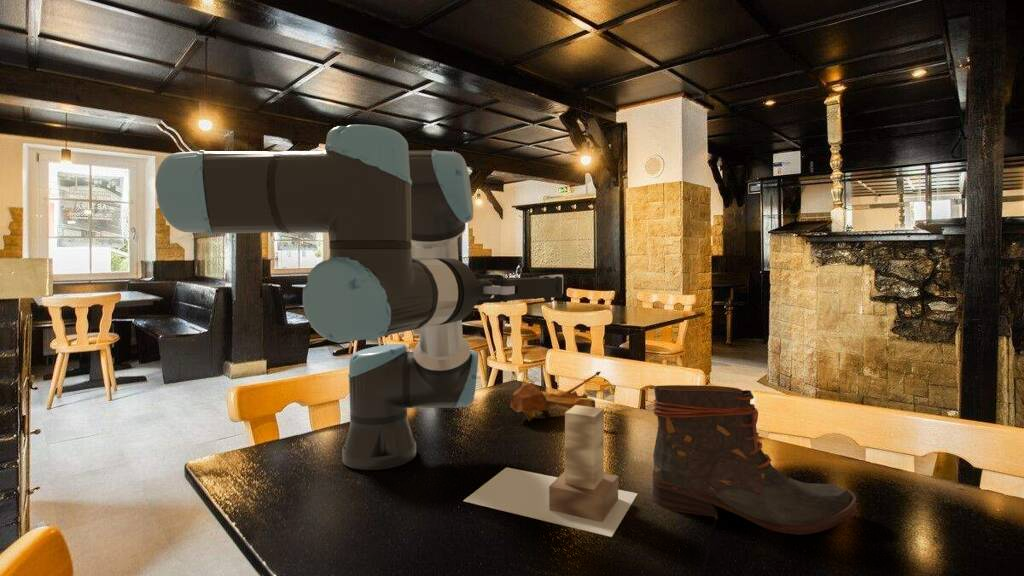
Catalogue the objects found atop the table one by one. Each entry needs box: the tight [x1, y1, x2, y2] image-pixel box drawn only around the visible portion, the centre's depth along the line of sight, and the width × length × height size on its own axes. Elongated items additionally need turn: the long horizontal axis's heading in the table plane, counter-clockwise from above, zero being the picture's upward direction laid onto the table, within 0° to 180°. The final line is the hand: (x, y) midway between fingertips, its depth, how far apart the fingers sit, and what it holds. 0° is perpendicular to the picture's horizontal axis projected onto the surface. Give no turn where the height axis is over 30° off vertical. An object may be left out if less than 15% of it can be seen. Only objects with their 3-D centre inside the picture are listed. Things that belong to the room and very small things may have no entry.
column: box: [564, 405, 605, 490], centre depth 88 cm, size 5×5×12 cm
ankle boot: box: [652, 384, 857, 536], centre depth 85 cm, size 11×31×20 cm, turn 74°
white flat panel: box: [462, 467, 639, 538], centre depth 91 cm, size 26×16×1 cm, turn 63°
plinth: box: [549, 470, 619, 522], centre depth 88 cm, size 9×9×4 cm
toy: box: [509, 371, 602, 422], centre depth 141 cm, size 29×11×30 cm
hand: (517, 283), depth 78 cm, fingers open, 13 cm apart
